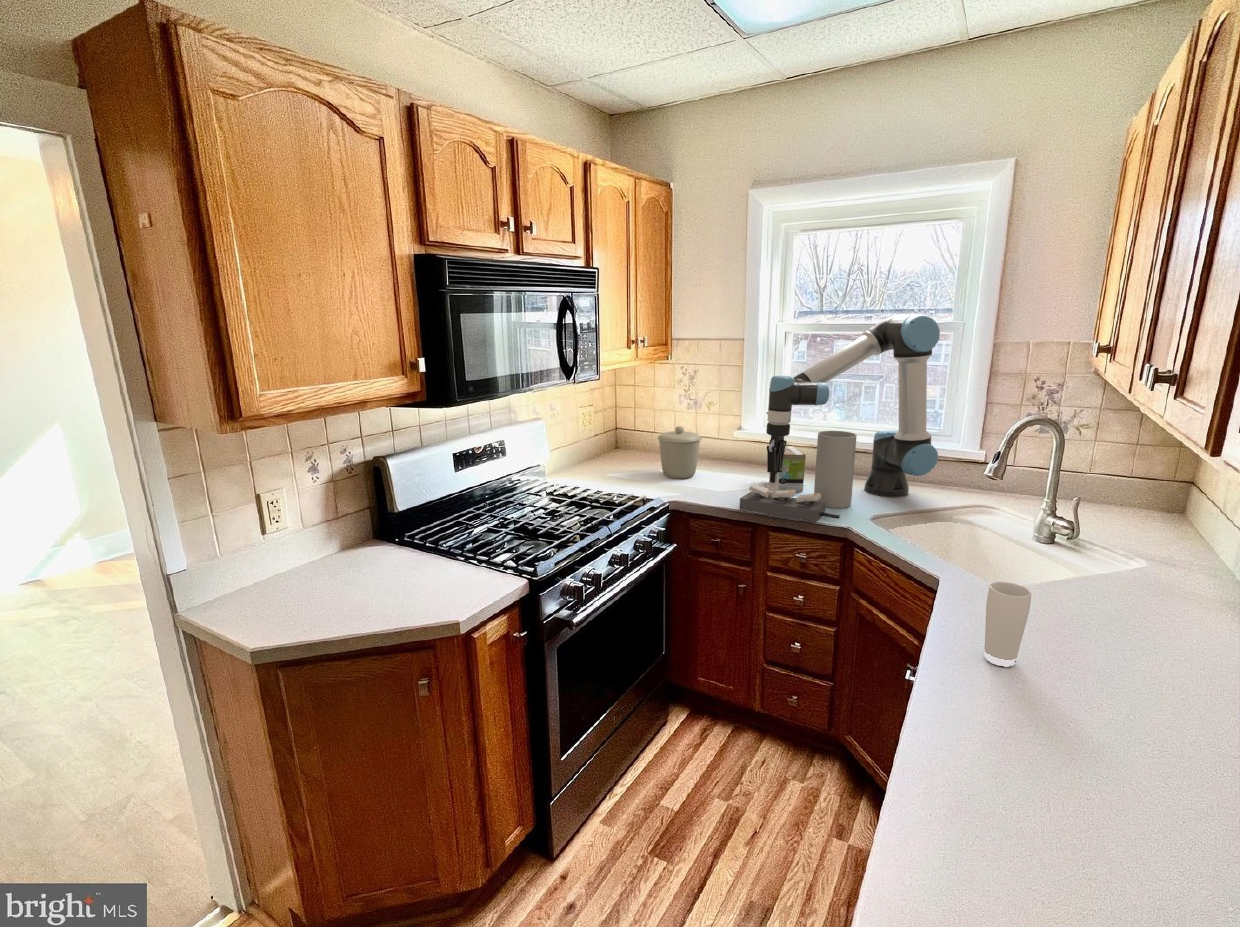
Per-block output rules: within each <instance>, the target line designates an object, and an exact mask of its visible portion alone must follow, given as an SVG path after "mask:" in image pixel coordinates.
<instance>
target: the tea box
mask: <svg viewBox="0 0 1240 927" xmlns="http://www.w3.org/2000/svg"><path fill="white" fill-rule="evenodd" d="M806 455H807V454H806V453H804V452H803V451H802V450H801V449H799V448H798V447H796V446H785V452H784V458H783V465H782V469H780V470H782V472H779V483H778V491H782V490H796V493H802V492H803V491H804V481H805V471H806V458H807V456H806ZM769 477H770V475H769ZM769 477H768V478H769Z"/></svg>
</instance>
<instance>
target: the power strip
mask: <svg viewBox="0 0 1240 927" xmlns="http://www.w3.org/2000/svg"><path fill="white" fill-rule="evenodd" d="M796 498H797V497H785V498H784V497H779V498H772V495H771V496H769V497H768V498H767V497H764V496H762V495H760V493H755V492H753V491H749V492H747V493H746V494H744V495H742V496H741V497H739V510H741V511H747V512H751V513H752V512H754V513H757V514H758V513H759V514H765V515H769V516H775V517H782V518H788V519H794V520H797V521H804V522H811V523H817V522H818V521H819V520H820V519H821V518H822V517H825V518H832V519H836V520H840V517H841V515H840V514H834V513H828V512H826V511H825V510H826V507H825V503H824V502H817V501H810V502H809V501H805V500H804V502H796Z"/></svg>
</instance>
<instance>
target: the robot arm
mask: <svg viewBox="0 0 1240 927" xmlns="http://www.w3.org/2000/svg"><path fill="white" fill-rule="evenodd" d="M940 333H941V331H940V326H939V324H938V323H937V321H936V320H935V319H934V318H933V317H931V316H929V315H924V314H918V313H917V314H916V313H914V314H894V315H892V316H889V317H887V318H885V319H883V320H881V321H879V322H878V323H876V324H874V325H872V326H871V327H870V328H868V329H865V330H864V331H863V332H862V334H861V336H860V337H859V338H857V339H856V340H854V341H852V342H850V343H849V344H847V345H845V346H844V347H842V348H841V349H839V350H837V351H835V352H833V353H832V354H831V355H828V356H827V357H825V358H824V359H821V361H819V362H817V363H815V364H814V365H812V366H810V367H809V368H807V369H805V370H803V372H801V373H799V374H796V375H795V376H794V377H793V376H790V375H774V376H772V377H771V379H770V382H769V389H768V391H769V393H768V408H767V409H768V410H767V411H766V415H767V423H766V434H767V435H770V440H769V442H768V443H769V444H768V445H766V452H767V466H766V467H767V468H766V469H767V470H766V472H767V473H769V476H770V477H768V479H769V480H768V488H767V489H768V491H772V492H777V491H778V483H779V472H782V470H780V469H782V465H783V458H784V452H785V447H787V444H788V443H787V440H786V439H785V437H788V436H789V435H790V433H791V432H790V430H791V425H790V423H791V419H792V408H793V406H823V405H826V404H827V403H828V401H829V399H830V388H829V385H828V384H827V383H828V382H830V381H831V380H833V379H835V378H836V377H838V376H840V375H842V374H843V373H845V372H847V371H849V370H850V369H851V368H853V367H855V366H857V365H858V364H860V363H861V362H863V361H865V360H867V359H868V358H870V357H872V356H879V355H881V354H882V353H884V352H887V351H891V350H892V351H893V359H895V361H897V362H898V430H879V431H877V432H875V433H874V436H873V441H872V442H873V445H872V456H871V457H872V458H871V468H870V469H871V470H870V472H869V474H868V476H867V479H866V481H865V483H864V491H865V492H866V493H868V494H871V495H874V496H880V497H889V498H891V497H892V498H898V497H899V498H900V497H906V496H908V495H909V492H910V491H909V490H910V488H909V487H910V486H909V483H908V480H907V479H908V478H907V475H910V476H914V477H922V476H925V475H927V474H929V473H930V472H931V471H932V470H933V469H934V468H935V467H936V465H937V463H938V460H939V453H938V449H937V448H936V447H935V446H934V445H932V434H931V433H929V432H928V430H927V407H928V406H927V404H928V403H927V397H928V396H927V393H928V390H927V389H928V388H927V386H928V377H927V376H928V372H927V370H928V360H929V359H930V358H931V357H932V355H933V349H934V348H935V347H936V345H937V344H938V342H939V340H940V336H941V335H940ZM906 474H907V475H906Z"/></svg>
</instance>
